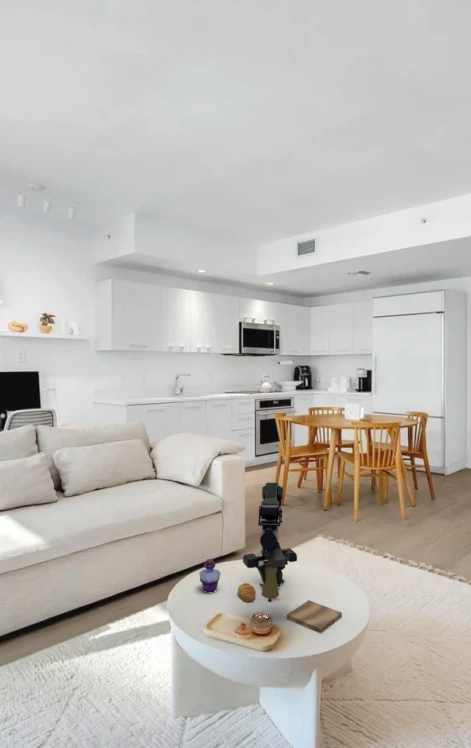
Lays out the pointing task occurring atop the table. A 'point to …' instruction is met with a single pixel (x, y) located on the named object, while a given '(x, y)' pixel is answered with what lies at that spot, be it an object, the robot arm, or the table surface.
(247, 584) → the pastry
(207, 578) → the potion bottle
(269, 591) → the olive rounded upright piece
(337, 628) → the table surface
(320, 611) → the walnut board
